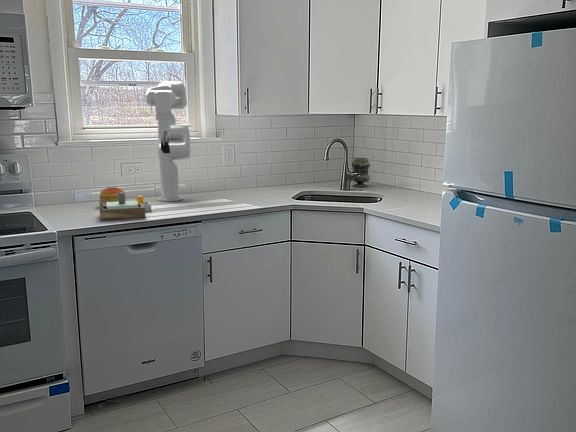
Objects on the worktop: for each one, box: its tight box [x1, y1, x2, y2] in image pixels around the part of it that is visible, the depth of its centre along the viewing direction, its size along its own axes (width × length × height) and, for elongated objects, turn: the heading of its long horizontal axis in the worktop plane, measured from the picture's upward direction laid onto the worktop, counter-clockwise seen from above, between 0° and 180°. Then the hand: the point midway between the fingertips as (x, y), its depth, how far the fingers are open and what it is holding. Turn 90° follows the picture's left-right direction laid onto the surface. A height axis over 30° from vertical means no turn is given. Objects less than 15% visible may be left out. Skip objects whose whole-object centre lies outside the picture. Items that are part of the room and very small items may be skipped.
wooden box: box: [99, 199, 146, 222], centre depth 268 cm, size 12×20×8 cm, turn 109°
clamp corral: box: [143, 201, 152, 213], centre depth 283 cm, size 9×17×4 cm, turn 109°
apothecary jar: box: [351, 157, 371, 188], centre depth 359 cm, size 12×12×18 cm
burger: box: [99, 186, 127, 205], centre depth 294 cm, size 13×14×10 cm
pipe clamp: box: [125, 195, 144, 205], centre depth 283 cm, size 12×4×6 cm, turn 141°
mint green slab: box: [106, 192, 138, 210], centre depth 267 cm, size 12×14×6 cm
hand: (165, 152), depth 279 cm, fingers open, 9 cm apart
